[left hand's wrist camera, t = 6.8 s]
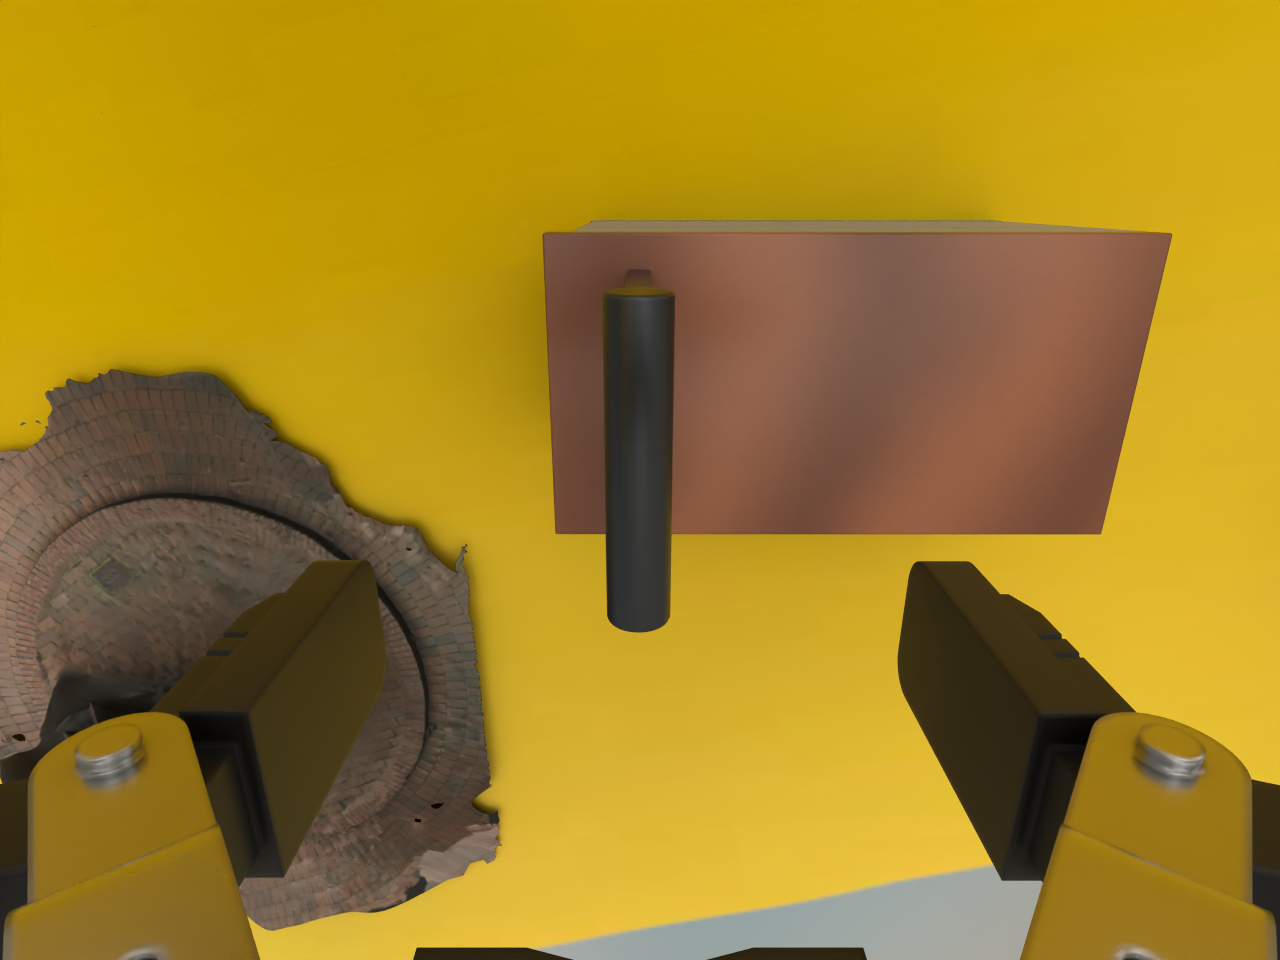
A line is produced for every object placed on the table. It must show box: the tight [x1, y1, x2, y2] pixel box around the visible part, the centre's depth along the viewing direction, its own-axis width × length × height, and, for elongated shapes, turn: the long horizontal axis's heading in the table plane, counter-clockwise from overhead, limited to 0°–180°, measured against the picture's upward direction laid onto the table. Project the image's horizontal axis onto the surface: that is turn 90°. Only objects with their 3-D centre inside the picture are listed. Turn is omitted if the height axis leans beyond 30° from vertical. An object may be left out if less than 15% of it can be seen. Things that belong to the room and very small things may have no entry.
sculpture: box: [0, 369, 502, 931], centre depth 34 cm, size 33×35×16 cm
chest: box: [573, 221, 1144, 232], centre depth 30 cm, size 18×10×11 cm, turn 90°
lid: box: [543, 232, 1172, 632], centre depth 20 cm, size 18×10×8 cm, turn 90°
